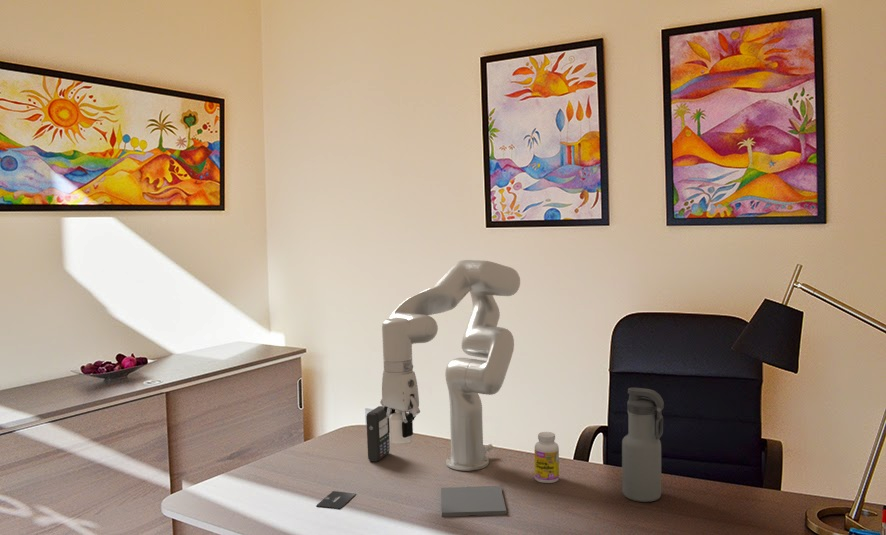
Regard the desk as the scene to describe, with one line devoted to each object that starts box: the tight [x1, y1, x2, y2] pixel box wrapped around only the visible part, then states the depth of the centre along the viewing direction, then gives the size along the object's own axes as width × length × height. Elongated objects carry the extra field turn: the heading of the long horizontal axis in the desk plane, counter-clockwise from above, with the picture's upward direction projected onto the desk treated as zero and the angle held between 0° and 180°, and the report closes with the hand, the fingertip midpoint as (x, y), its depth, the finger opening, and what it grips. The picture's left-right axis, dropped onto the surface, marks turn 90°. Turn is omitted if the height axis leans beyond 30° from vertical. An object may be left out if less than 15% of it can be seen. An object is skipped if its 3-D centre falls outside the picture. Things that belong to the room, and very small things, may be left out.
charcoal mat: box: [440, 485, 507, 517], centre depth 190 cm, size 16×16×1 cm
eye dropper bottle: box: [389, 409, 413, 447], centre depth 193 cm, size 4×6×12 cm
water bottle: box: [621, 387, 665, 503], centre depth 190 cm, size 10×10×28 cm
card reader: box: [365, 405, 391, 462], centre depth 225 cm, size 9×4×15 cm, turn 159°
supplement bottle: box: [534, 431, 560, 484], centre depth 204 cm, size 7×7×13 cm
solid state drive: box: [315, 490, 357, 510], centre depth 194 cm, size 7×10×1 cm
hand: (400, 433), depth 194 cm, fingers closed on eye dropper bottle, 4 cm apart
